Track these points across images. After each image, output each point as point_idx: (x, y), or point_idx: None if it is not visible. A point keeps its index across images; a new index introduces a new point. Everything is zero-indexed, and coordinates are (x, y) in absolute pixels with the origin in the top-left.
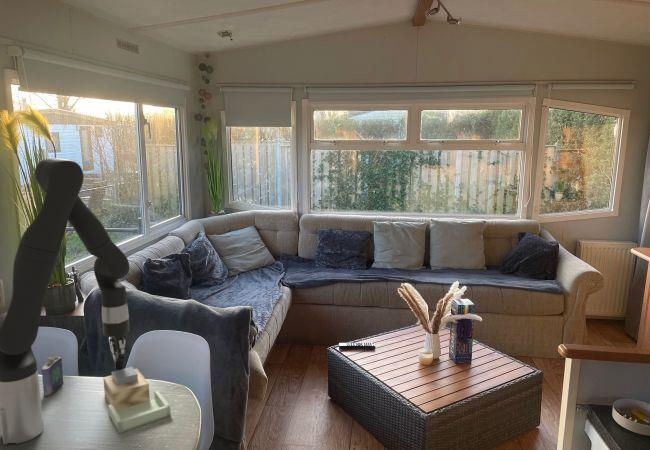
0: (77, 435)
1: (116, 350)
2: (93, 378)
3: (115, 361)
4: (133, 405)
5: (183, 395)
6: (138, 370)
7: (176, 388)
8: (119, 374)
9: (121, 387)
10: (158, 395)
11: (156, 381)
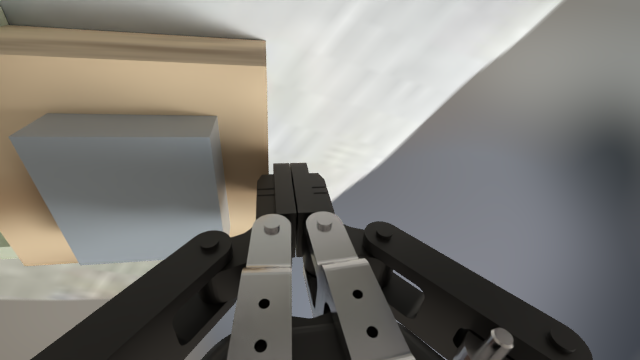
0: None
1: (218, 343)
2: (490, 47)
3: (277, 212)
4: None
5: (95, 286)
6: None
7: None
8: (125, 176)
9: (6, 134)
10: (8, 249)
11: None
